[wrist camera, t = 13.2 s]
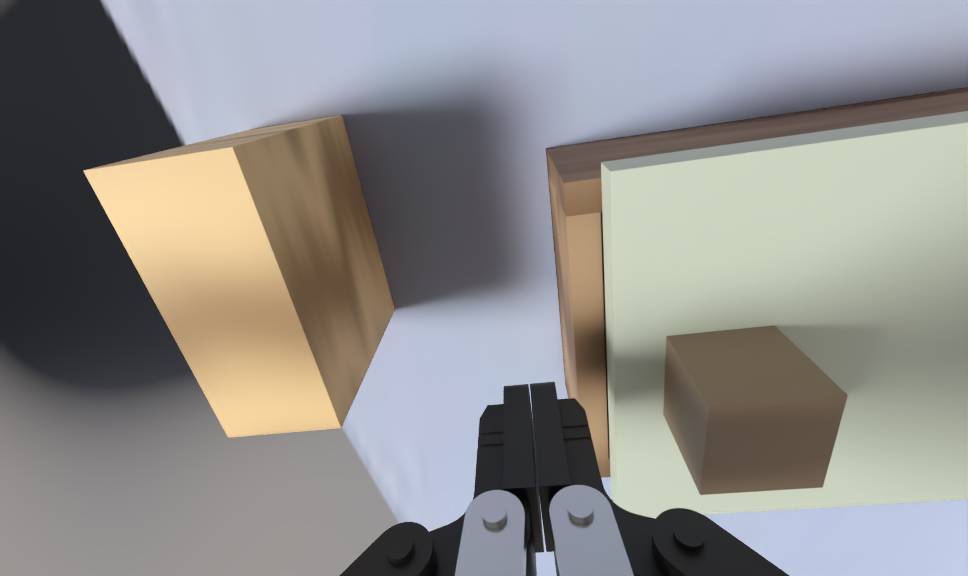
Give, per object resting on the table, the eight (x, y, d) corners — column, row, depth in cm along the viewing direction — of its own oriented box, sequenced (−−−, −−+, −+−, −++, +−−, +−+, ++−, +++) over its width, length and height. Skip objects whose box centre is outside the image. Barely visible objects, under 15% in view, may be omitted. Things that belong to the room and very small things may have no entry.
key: (249, 129, 18) (83, 170, 11) (342, 114, 18) (232, 146, 11) (317, 317, 22) (228, 437, 15) (395, 308, 22) (341, 427, 15)
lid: (600, 161, 12) (644, 205, 8) (1348, 57, 10) (1840, 52, 6) (611, 491, 18) (639, 606, 14) (1092, 461, 16) (1274, 583, 12)
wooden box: (546, 148, 18) (563, 183, 13) (1234, 48, 15) (1623, 38, 10) (565, 383, 23) (583, 478, 18) (1081, 336, 21) (1283, 431, 15)
